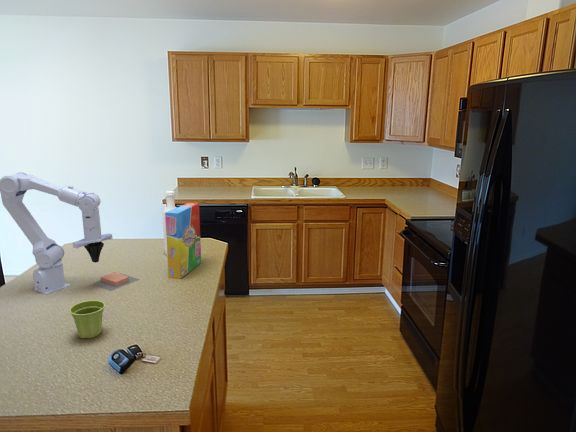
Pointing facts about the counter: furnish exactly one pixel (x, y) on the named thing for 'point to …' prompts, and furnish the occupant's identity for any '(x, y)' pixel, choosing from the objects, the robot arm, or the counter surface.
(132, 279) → the mat
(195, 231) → the game box
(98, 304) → the plant pot
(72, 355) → the counter surface
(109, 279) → the block
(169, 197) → the bottle
